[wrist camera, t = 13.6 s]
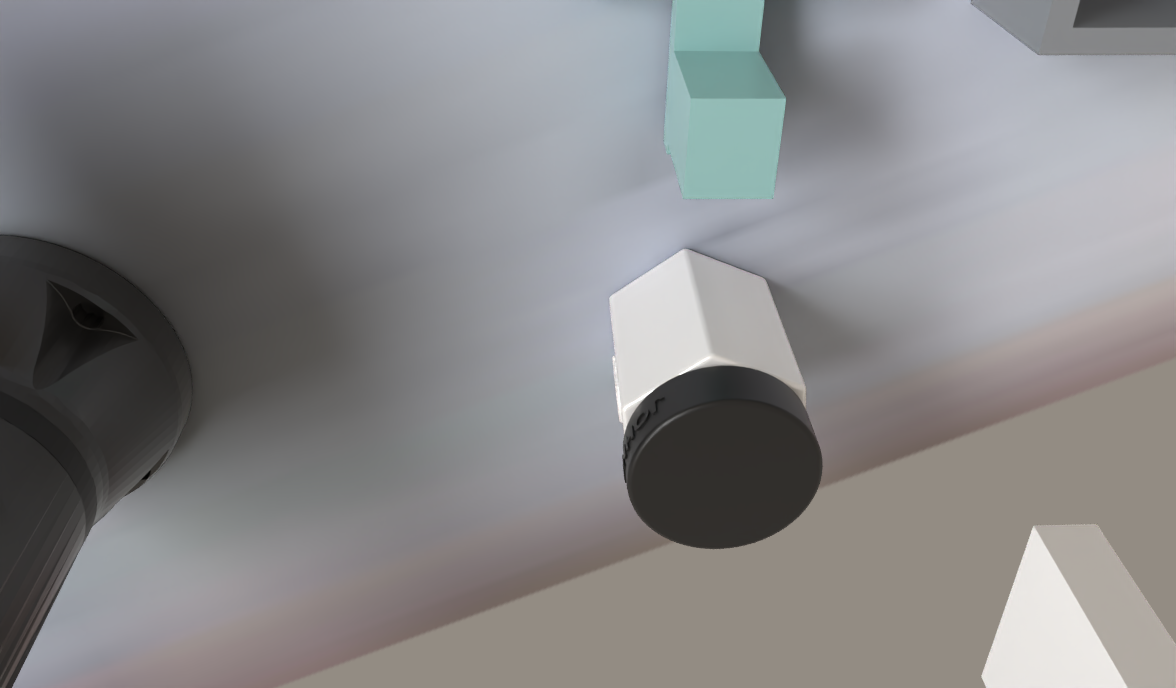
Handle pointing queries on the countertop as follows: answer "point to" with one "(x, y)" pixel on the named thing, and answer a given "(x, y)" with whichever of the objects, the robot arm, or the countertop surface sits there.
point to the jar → (710, 405)
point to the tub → (1088, 25)
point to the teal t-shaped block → (721, 102)
